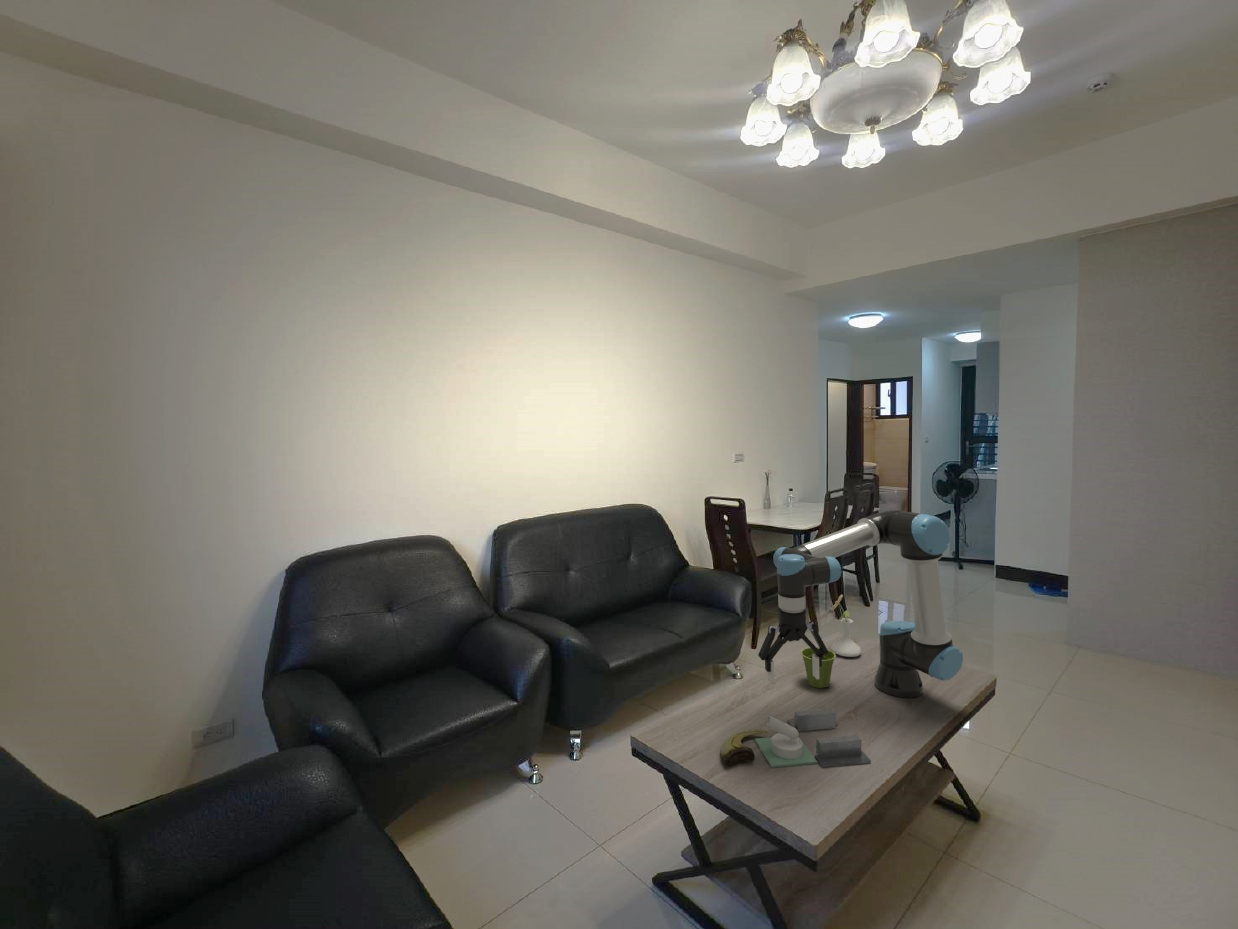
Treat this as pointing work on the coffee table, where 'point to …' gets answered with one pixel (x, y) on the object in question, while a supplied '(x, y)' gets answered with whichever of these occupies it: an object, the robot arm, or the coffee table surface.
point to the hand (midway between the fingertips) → (793, 679)
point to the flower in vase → (845, 636)
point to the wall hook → (785, 739)
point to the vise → (830, 739)
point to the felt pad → (782, 762)
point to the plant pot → (823, 670)
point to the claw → (738, 748)
